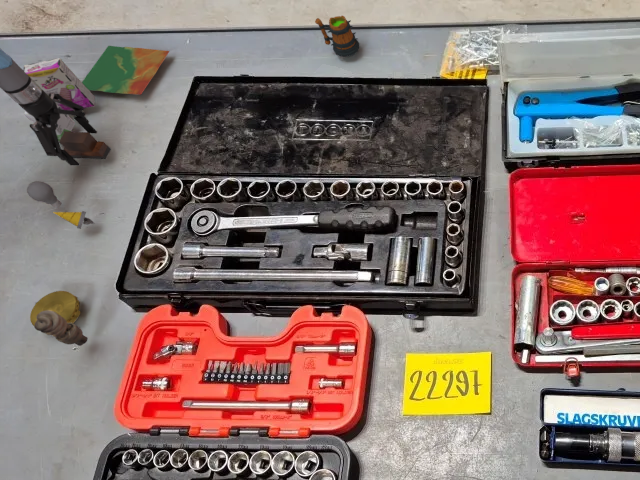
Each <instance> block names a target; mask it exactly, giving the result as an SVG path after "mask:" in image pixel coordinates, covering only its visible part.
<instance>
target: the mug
mask: <svg viewBox="0 0 640 480" xmlns="http://www.w3.org/2000/svg"><path fill="white" fill-rule="evenodd" d="M351 22H352V21H351V20H347V18H346V16H344V15H341V16H340V15H338V16H334V17H329V19H328V24H324V23H323V21H322V20H321V19H320V18H319V17H317V18H316V19H315V20H314V23H315V24H316V25H318V27H319V29H320V31H321V34H322V36H323V40H324V44H325V45H327V46H332V50H333V52H334V54H335V55H336V56H338V57H342V58H346V57H351V56H353V55H355V54H357V53H358V52H359V50H360V47H361V46H360V42H359V40H358V38H357V37H356V33H357V32H353V31H352V29H351V28H352V27H354V25H351V24H350V23H351ZM326 28H327V29H328V31H326ZM329 33H331V36H329V35H328V34H329Z"/></svg>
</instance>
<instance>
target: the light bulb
mask: <svg viewBox="0 0 640 480" xmlns="http://www.w3.org/2000/svg"><path fill="white" fill-rule="evenodd" d="M26 193H27V195H28V197H29V198H31V199H32V200H33V201H36V202H40V203H45V204H47V205H50V206H51V207H53V208H54V209H59V208H61V206H62V205H63V203H62V201H61V200H60V199H58V197H57V196H56V195H55V191H54V189H53V187H52V186H51V185H50V184H49V183H47V182H44V181H41V180H38V181H37V180H36V181H32V182H31V183H29V184H28V185H27V187H26Z"/></svg>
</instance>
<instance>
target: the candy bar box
mask: <svg viewBox="0 0 640 480" xmlns="http://www.w3.org/2000/svg"><path fill="white" fill-rule="evenodd" d="M22 70H23V71H24V72H25V73H26V74H27V75H28V76H29V77H30V78H31V79H32V80H33V81H34V82H35V83H36V84H37V85H38V86H39V87H40V88H41V89H42V90H43V91H44V92H45V93H47V94H48V95H49V93H53V94H59V95H60V96H61V97H63V98H64V99H67V100H69V101H71V102H73V103H76V104H78V105H80V106H83V108H84V109H88V108H89V109H90V108H93V107H96V96H95V95H94V94H93V93H92V92H91V90H88V89H87V88H86V86H85V85H84V84H83V83H82V81H81V80H80V79H79V77H78V76H77V75H76V74H75V73H74V72H73V71H72V69H70V67H68V65H67V63H65V62H64V61H63V60H62V59H61V58H60V57H58V58H53V59H49V60H44V61H43V60H42V61H38V62H34V63H28V64H24V65H23V69H22ZM55 103H56V104H57V105H58V106H59V107H60V108H61V109H64V110H70V111H74V109H72V108H69V107H67V106H65V105H62V104H60V103H57V102H55Z"/></svg>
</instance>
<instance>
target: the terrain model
mask: <svg viewBox="0 0 640 480" xmlns="http://www.w3.org/2000/svg"><path fill="white" fill-rule="evenodd" d="M169 53H170V50H161V49H153V48H143V47H131V46H115V45H108V46H107V47H106V48H105V50H104V51H103V52H102V54H101V55H100V57H99V58H98V59H97V61H96V62H95V64H94V65H93V66H92V67H91V69H90V70H89V71H88V73H87V74H86V76H85V77H84V79H83V80H82V81H81V82H82V83H83V84H84V85H85V86H86V88H87V89H88V90H89V91H96V92H104V93H111V94H125V95H126V94H127V95H128V94H130V95H140V96H141V95H142V94H143V93H144V91H145V90H146V88H147V87H148V85H149V84H150V83H151V81H152V79H153V78H154V76H156V73H157V72H158V70H159V68H160V66H161V65H162V64H163V62H164V61H165V59H166V58H167V56H168V54H169Z"/></svg>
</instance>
